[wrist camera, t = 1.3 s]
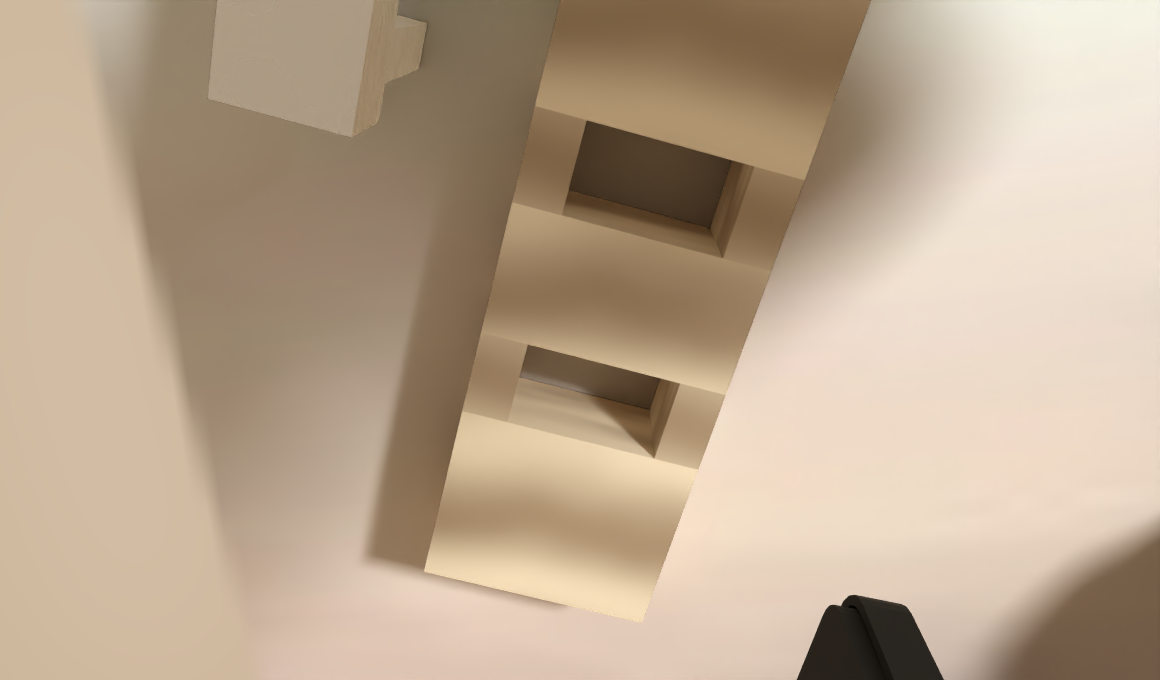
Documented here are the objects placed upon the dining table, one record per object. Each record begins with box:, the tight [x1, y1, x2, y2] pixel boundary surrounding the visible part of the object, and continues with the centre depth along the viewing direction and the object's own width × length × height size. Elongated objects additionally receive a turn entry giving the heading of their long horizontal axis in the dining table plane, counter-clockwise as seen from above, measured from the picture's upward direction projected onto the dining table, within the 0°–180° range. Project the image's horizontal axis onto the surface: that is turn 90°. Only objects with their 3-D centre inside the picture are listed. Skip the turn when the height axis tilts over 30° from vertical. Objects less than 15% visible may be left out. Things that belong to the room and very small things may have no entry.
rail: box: [424, 0, 871, 623], centre depth 31 cm, size 26×9×4 cm, turn 165°
